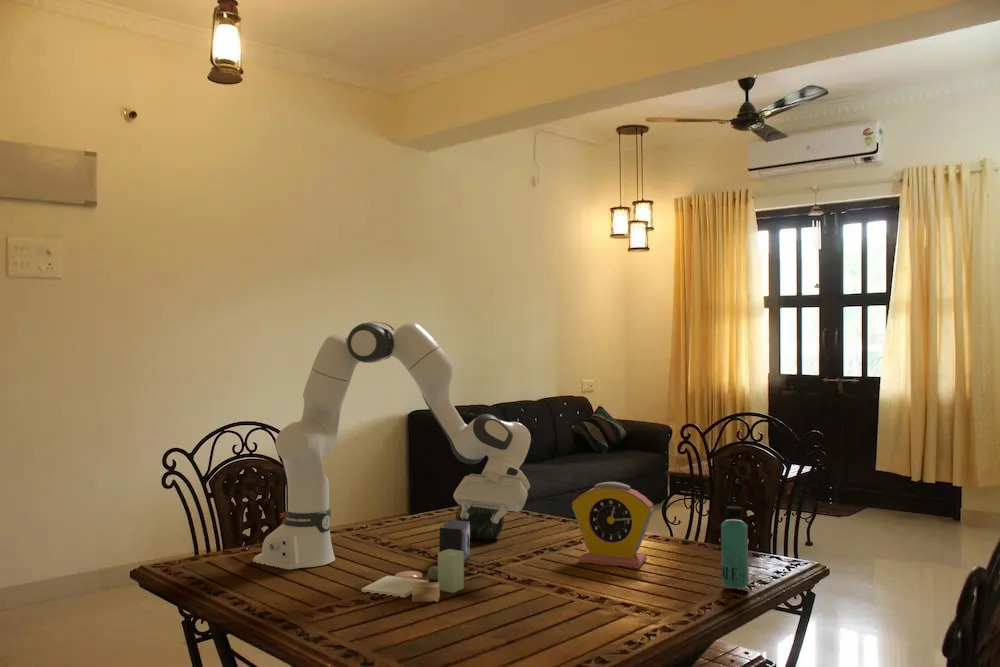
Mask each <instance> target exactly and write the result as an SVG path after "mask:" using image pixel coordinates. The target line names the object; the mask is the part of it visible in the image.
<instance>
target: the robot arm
mask: <svg viewBox="0 0 1000 667" xmlns="http://www.w3.org/2000/svg"><path fill="white" fill-rule="evenodd" d="M391 357H393V358H395V359H397V360H398V361H399V362H400V363H401V364H402V365H403V366H404V368H405V369H406V370H407V371H408V373H409V374H410V376H412V378H413V380H414V381H415V383H416V385H417V386H418V388H419V390H420V392H421V395H422V398H423V400H424V402H425V404H426V406H427V407H428V409H429V411H430V412H431V414H432V416H433V417H434V419H435V420H436V422H437V424H438V425H439V426H440V428H441V430H442V431H443V433H444V434H445V436H446V438H447V440H448V442H449V445H450V449H451V451H452V454H453V455H454V457H455V458H456V459H457V460H458V461H460V462H461V463H463V464H465V465H475V464H478V463H480V462H481V461H482V460H483V459H484V458H485V457H486V456H487V458H488V459H487V462H486V464H485V466H484V468H483V470H482V472H481V473H480V474H479V473H477V474H476V473H470V474H468V475H464V477H463V478H462V480H461V482H459V484H458V486H457V487H456V489H455V491H454V492H453V499H454V500H455V502H456V503H457V505H459V506H460V505H462V512H461V514H460V517H461V518H462V519H468V517H469V515H470V514H469V513H468V511H467V509H469V508H470V506H474V507H482V508H490V509H499V511H498V512H497V513H496V514H492V517H491V521H492V523H498V522H499V520H500V518H502V517H503V516H504V517H505V515H507V513H508V511H509V512H518V513H519V512H520V511H522V510H523V508H524V506H525V504H526V503H527V502H526V501H527V498H528V494H529V493H528V491H529V490H530V488H531V484H530V482H529V480H528V479H527V476H526V475H525V474H524V472H523V471H522V470H521V469H520V467H521V466H522V464H523V463H524V462H525V459H526V457H527V455H528V452H529V450H530V444H531V440H532V437H531V433H530V430H529V429H528V428H527V426H525V425H523V423H520V422H518V421H505V420H502V419H499V418H497V417H496V416H495V415H493V414H489V413H483V414H480V415H478V416H477V417H476V418H474V419H473V420H472V421H471V422H469V423H468V424H467V423H465V421H464V420H463V418H462V416H461V415H460V413H459V412H458V410H457V409H456V407H455V406H454V405H453V402H452V401H451V398H450V384H451V380H452V377H453V372H454V370H453V367H454V366H453V363H452V362H451V359H450V358H449V356H448V354H447V353H446V352H445V350H444V349H443V348H442V346H441V345H440V343H439V342H438V341H436V339H435V338H434V337H433V336H432V335H431V334H430V333H429V332H428V330H426V329H425V328H424V327H423V326H421V325H420V324H418V323H417V322H413V321H412V322H411V321H410V322H406V323H403V324H402V325H399V327H396V329H394V327H392V326H391V325H390V324H388V323H385V322H382V321H381V322H380V321H369V322H363V323H360V324H357V325H356V326H355V327H353V329H351V330H350V332H349V334H348V336H346V335H344V334H331V335H328V336H327V338H325V340H324V341H323V343H322V345H321V347H320V348H319V350H318V352H317V354H316V356H315V359H314V362H313V364H312V367H311V369H310V373H309V376H308V378H307V381H306V384H305V387H304V390H303V393H302V397H303V411H302V416H301V418H300V420H299V421H294V422H291V423H289V424H288V425H286V426H285V427H284V428H283V429H281V430H280V431H279V433H277V435H276V438H275V449H276V452H277V454H278V456H279V457H280V458H281V459H282V463H283V468H284V471H285V476H286V481H287V510H285V511H284V512H282V513H279V515H281V516H279V518H283V519H282V524H280V525H279V526H278V527H276V529H274V530H273V531H272V532H270V533H269V534H268V535H267V536H266V537H264V540H263V543H262V548H261V553H259V554H257V555H255V556H254V557H253V559H252V562H253V563H255V562H256V564H259V563H260V564H259V565H264V564H265V566H269V567H270V566H271V567H273V566H274V567H275V568H278V567H279V569H284V570H294V569H295V570H296V569H301V568H302V569H303V568H315V567H319V566H325V565H328V564H331V563H333V562H335V560H336V557H335V556H336V555H335V553H334V550H333V544H332V539H331V538H332V537H331V530H330V529H331V525H332V523H331V522H332V521H331V520H332V518H331V516H332V515H331V512H332V511H331V508H330V482H329V478H328V477H327V475H326V473H325V470H324V469H325V468H324V465H323V460H322V458H323V456H325V455H327V454H329V453H330V452H331V451H332V450H333V449H334V448H335V447H336V446H337V444H338V441H339V436H340V432H339V425H340V418H341V413H342V412H341V411H342V407H343V403H344V400H345V397H346V395H347V392H348V389H349V386H350V383H351V380H352V377H353V375H354V371H355V369H356V367H357V365H358V364H359V363H361V362H362V363H364V364H366V363H368V364H369V363H370V364H371V363H379V362H382V361H385V360H387V359H389V358H391Z"/></svg>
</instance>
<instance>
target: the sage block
mask: <svg viewBox="0 0 1000 667" xmlns="http://www.w3.org/2000/svg"><path fill="white" fill-rule="evenodd" d="M464 565H465V563H464V551H459V550H453V549H447V550H444V551H441V552H439V551H438V552H437V567H438V580H437V582H440V590H442V591H441V592H445V591H446V592H447V593H450V592H451V594H452V593H453V594H455V593H456V592H458V591H461V590H463V589H464V588H465V567H464ZM446 592H445V593H446Z"/></svg>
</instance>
